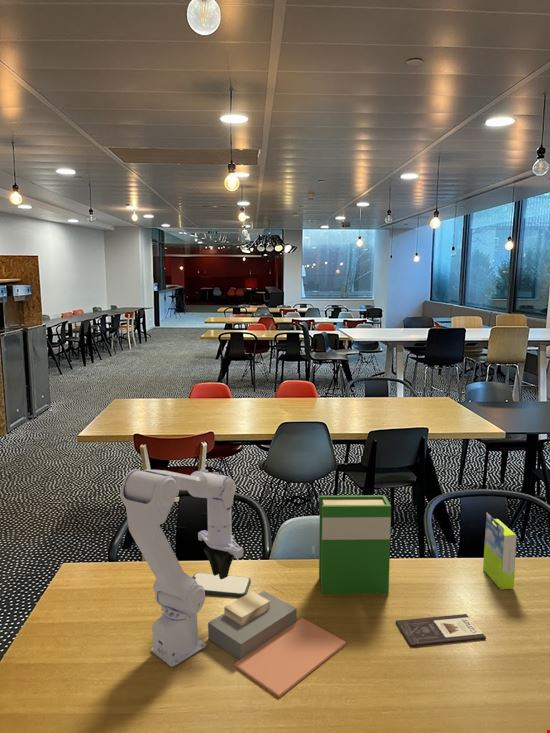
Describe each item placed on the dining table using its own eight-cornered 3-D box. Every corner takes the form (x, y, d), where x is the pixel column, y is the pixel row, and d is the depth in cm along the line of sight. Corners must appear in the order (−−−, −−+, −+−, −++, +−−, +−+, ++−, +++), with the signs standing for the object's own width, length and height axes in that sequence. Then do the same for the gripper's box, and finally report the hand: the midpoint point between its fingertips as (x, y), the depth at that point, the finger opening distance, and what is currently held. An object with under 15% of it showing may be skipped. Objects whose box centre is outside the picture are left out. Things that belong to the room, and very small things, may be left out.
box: (514, 589, 142) (518, 527, 140) (499, 590, 142) (503, 528, 139) (495, 569, 152) (498, 511, 150) (481, 569, 152) (484, 511, 150)
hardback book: (321, 593, 140) (322, 506, 137) (318, 578, 148) (319, 495, 144) (388, 593, 140) (391, 506, 137) (382, 578, 148) (384, 495, 144)
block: (241, 661, 114) (241, 644, 114) (208, 638, 122) (208, 622, 121) (296, 623, 127) (296, 608, 127) (263, 605, 135) (263, 590, 134)
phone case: (251, 582, 147) (195, 577, 149) (251, 576, 147) (195, 571, 149) (245, 600, 138) (185, 594, 141) (245, 594, 138) (185, 589, 140)
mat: (279, 697, 104) (279, 694, 104) (234, 666, 113) (234, 663, 113) (346, 644, 120) (346, 641, 120) (302, 620, 129) (302, 617, 129)
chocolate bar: (395, 620, 128) (466, 614, 130) (395, 624, 128) (466, 617, 130) (410, 645, 119) (486, 637, 122) (410, 648, 119) (485, 641, 122)
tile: (242, 625, 120) (241, 617, 120) (224, 614, 124) (224, 606, 124) (269, 608, 127) (269, 600, 126) (252, 598, 131) (252, 591, 131)
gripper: (252, 526, 127) (252, 580, 129) (213, 510, 137) (213, 559, 139) (230, 536, 122) (230, 591, 124) (190, 518, 132) (192, 569, 134)
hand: (220, 575), depth 131 cm, fingers closed
